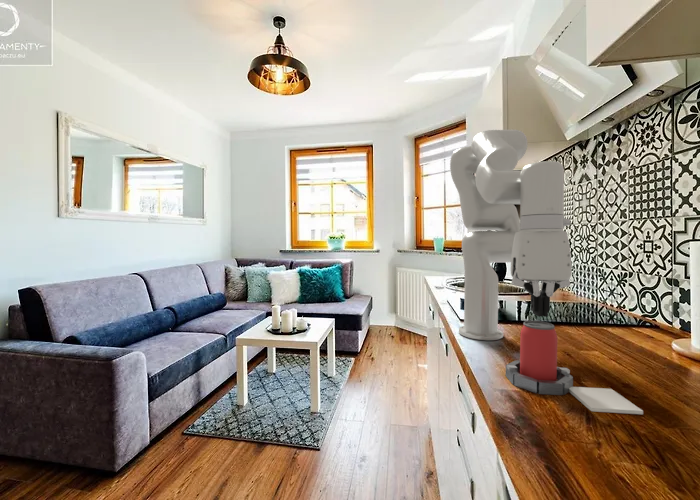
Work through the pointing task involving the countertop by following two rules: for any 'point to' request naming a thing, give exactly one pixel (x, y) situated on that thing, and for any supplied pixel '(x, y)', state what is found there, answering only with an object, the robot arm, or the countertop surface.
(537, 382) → the collar
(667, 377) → the countertop surface
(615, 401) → the plate
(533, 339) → the beer can
